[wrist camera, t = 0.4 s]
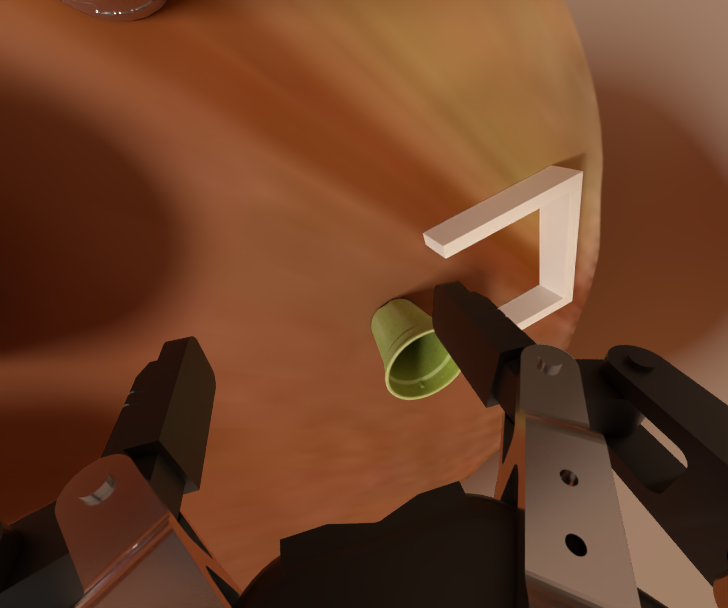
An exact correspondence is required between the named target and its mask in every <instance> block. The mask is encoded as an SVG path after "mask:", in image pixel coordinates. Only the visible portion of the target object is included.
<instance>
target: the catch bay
mask: <svg viewBox="0 0 728 608" xmlns="http://www.w3.org/2000/svg"><path fill="white" fill-rule="evenodd" d="M582 179H583V171H580V170H574V169H569V168H563V167H558V166H553V165H550V166H548V167H547V168H545V169H543V170H541V171H539V172H537V173H535V174H533V175H531V176H530V177H528V178H526V179H524V180H522V181H520V182H518V183H516V184H514V185H513V186H511V187H509V188H507V189H505V190H503V191H501V192H499V193H497V194H495V195H494V196H492V197H490V198H488V199H486V200H484V201H482V202H480V203H478V204H477V205H475V206H473V207H471V208H469V209H467V210H465V211H463V212H461V213H460V214H458V215H456V216H454V217H452V218H450V219H448V220H446V221H444V222H443V223H441V224H439V225H437V226H435V227H433V228H431V229H429V230H427V231H426V232H424V233H423V236H424V239H425V243H426V245H427V246H428V247H430V248H431V249H433V250H434V251H436V252H437V253H438V254H440V255H441V256H443V257H444V258H445V259H446V258H448V257H450V256H452V255H454V254H456V253H457V252H459V251H461V250H463V249H465V248H467V247H468V246H470V245H472V244H474V243H476V242H478V241H480V240H481V239H483V238H485V237H487V236H489V235H491V234H493V233H494V232H496V231H498V230H500V229H502V228H504V227H506V226H507V225H509V224H511V223H513V222H515V221H517V220H519V219H520V218H522V217H524V216H526V215H528V214H530V213H531V212H533V211H535V210H537V209H539V208H540V285H538V286H536V287H534V288H533V289H531V290H529V291H527V292H525V293H524V294H522V295H520V296H518V297H517V298H515V299H513V300H511V301H509V302H508V303H506V304H504V305H502V306H500V307H499V308H498V309H500V310H501V311H502V312H503V313H504V314H505V316H506V317H508V318H509V319H511V320H512V321H513V322H514V323H515V324H516V325H517V326H518V327H519V328H520V329H521V330H522V329H524V328H526V327H528V326H529V325H531V324H533V323H535V322H536V321H538V320H540V319H542V318H543V317H545V316H547V315H549V314H550V313H552V312H554V311H556V310H557V309H559V308H561V307H563V306H564V305H566V304H568V303H570V302H571V301H572V297H573V285H574V273H575V261H576V250H577V238H578V226H579V214H580V203H581V191H582Z"/></svg>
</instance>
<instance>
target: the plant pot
mask: <svg viewBox="0 0 728 608" xmlns="http://www.w3.org/2000/svg"><path fill="white" fill-rule="evenodd" d="M371 329H372V332H373V335H374V338H375V340H376V343H377V345H378V348H379V351H380V354H381V357H382V360H383V362H384V368H385V382H386V386H387V388H388V390H389V391H390V392H391V394H393V395H394V396H396V397H398V398H401V399H407V400H410V399H420V398H424V397H427V396H429V395H432V394H434V393H436V392H438V391H439V390H441V389H443V388H444V387H446V386H447V385H448V384H449V383H451V382H452V381H453V380H454V379H455V378H456V377H457V375H458V374H459V373H460V372H461V371H460V369H459V368H458V366H457V365H456V363H455V362H454V360H453V359H452V358H451V356H450V355H449V353H448V352H447V350H446V349H445V348H444V346H443V345H442V343H441V342H440V340H439V339H438V337H437V336H436V334H435V332H434V329H433V324H432V317H431V316H429V315H428V314H426V313H425V312H424V311H423V310H421V309H420V308H419V307H417V306H416V305H415V304H413V303H412V302H411V301H409V300H406V299H395V300H391V301H389V302H388V303H387V304H386V305H385V306H383V307H381V308H379V309H378V310H377V312H376V313H375V315H374V316H373V319H372V323H371Z"/></svg>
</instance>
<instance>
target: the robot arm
mask: <svg viewBox="0 0 728 608" xmlns="http://www.w3.org/2000/svg"><path fill="white" fill-rule="evenodd" d="M61 1H62V2H64V3H66V4H67V5H69V6H71V7H73V8H75V9H77V10H80V11H82V12H84V13H86V14H89V15H91V16H94V17H99V18H103V19H107V20H111V21H133V20H137V19H141V18H144V17H148V16H149V15H151V14H152V13H154V12H156V11H157V10H159V9H160V8H162V6H163V5H164V4H165V3H166V2H167V0H61ZM432 324H433V329H434V332H435V334H436V336H437V337H438V339H439V340H440V342H441V343H442V345H443V346H444V348H445V349H446V350H447V352H448V353H449V355H450V356H451V358H452V359H453V360H454V362H455V363H456V365H457V366H458V368H459V369H460V371H461V372H462V373H463V375H464V376H465V378H466V379H467V381H468V382H469V383H470V385H471V386H472V388H473V389H474V391H475V392H476V394H477V395H478V396H479V398H480V399H481V401H482V402H483V404H484V405H485V407H486V408H487V407H491V406H494V405H498V404H500V406H501V407H502V408H503V410H504V412H503V415H502V428H501V442H500V458H499V470H498V477H497V483H496V487H495V494H494V498H492V497H488V496H484V495H479V494H470V493H469V494H468V493H465V492H464V490H463V488H462V486H461V484H460V482H459V481H457V482H454V483H451V484H448V485H445V486H442V487H439V488H436V489H433V490H430V491H427V492H424V493H421V494H418V495H417V496H415V497H414V498H412V499H411V500H409V501H408V502H407V503H405V504H404V505H402V506H401V507H400V508H398V509H397V510H395V511H394V512H392V513H391V514H390V515H388V516H387V517H385V518H384V519H382V520H381V521H379V522H376V523H356V524H326V525H323V526H320V527H317V528H314V529H311V530H308V531H305V532H302V533H299V534H296V535H293V536H290V537H287V538H284V539H281V540H280V554H281V555H280V556H278V557H277V558H276V559H274V560H273V561H272V562H270V563H269V564H268V565H267V566H266V567H265V568H263V569H262V570H261V571H260V573H259V574H258V575H257V576H256V577H255V578H254V579H253V580H252V581H251V582H250V584H249V585H248V586H247V587H246V589H245V590H244V591H243V592H242V591H241V589H240V588H239V587H238V585H237V584H236V583H235V582H234V580H233V579H232V578H231V577H230V576H229V574H228V573H227V572H226V571H225V570H224V568H223V567H222V566H221V565H220V563H219V562H218V561H217V559H216V558H215V557H214V555H213V554H212V552H211V551H210V550H209V548H208V547H207V545H206V544H205V543H204V541H203V540H202V538H201V537H200V536H199V534H198V533H197V531H196V530H195V529H194V527H193V526H192V524H191V523H190V522H189V520H188V519H187V517H186V516H185V515H184V513H183V512H182V511H181V510H180V507H181V502H182V497H183V494H187V493H190V492H193V491H197V490H199V489H200V483H201V476H202V470H203V464H204V458H205V451H206V445H207V439H208V433H209V426H210V420H211V414H212V408H213V402H214V395H215V389H216V382H215V376H214V372H213V370H212V368H211V366H210V364H209V362H208V360H207V358H206V356H205V354H204V352H203V350H202V349H201V347H200V345H199V343H198V341H197V339H196V338H195V337H193V336H191V337H186V338H182V339H177V340H172V341H168V342H165V343H164V345H163V347H162V350H161V353H160V355H159V358H158V360H157V361H153V362H150V363H149V364H148V365H147V366H146V367H145V368H144V369H143V370H142V371H141V372H140V374H139V375H138V376H137V377H136V379H135V381H134V384H133V386H132V388H131V391H130V395H128V397H127V400H126V402H125V404H124V405H125V408H123V409H122V411H121V413H120V416H119V418H118V420H117V422H116V425H115V427H114V429H113V431H112V434H111V436H110V438H109V440H108V443H107V445H106V447H105V450H104V452H103V454H102V456H101V458H100V459H98V460H96V461H94V462H93V463H91V464H89V465H88V466H86V467H85V468H84V469H82V470H81V471H80V472H79V473H77V474H76V475H75V476H74V477H73V478H72V479H71V480H70V481H69V482H68V484H67V485H66V486H65V488H64V489H63V490H62V492H61V494H60V495H59V497H58V500H57V501H55V502H53V503H51V504H49V505H47V506H46V507H44V508H42V509H40V510H38V511H36V512H34V513H32V514H30V515H28V516H27V517H25V518H23V519H21V520H19V521H17V522H15V523H13V524H11V525H7V524H5V523H4V522H2V521H0V608H668V607H667V606H665V605H663V604H662V603H660V602H659V601H657V600H656V599H654V598H653V597H651V596H650V595H648V594H647V593H645V592H644V591H642V590H641V589H639V588H637V586H636V582H635V577H634V572H633V567H632V563H631V558H630V553H629V548H628V544H627V539H626V534H625V529H624V525H623V521H622V516H621V511H620V506H619V501H618V496H617V492H616V487H615V482H614V477H613V472H612V469H613V470H614V471H615V472H616V474H617V475H618V476H619V477H620V478H621V479H622V481H623V482H624V483H625V484H626V485H627V487H628V488H629V489H630V490H631V491H632V492H633V494H634V495H635V496H636V497H637V498H638V500H639V501H640V502H641V503H642V504H643V505H644V507H645V508H646V509H647V510H648V511H649V513H650V514H651V515H652V516H653V517H654V518H655V520H656V521H657V522H658V523H659V524H660V525H661V527H662V528H663V529H664V530H665V532H666V533H667V534H668V535H669V536H670V537H671V538H672V540H673V541H674V542H675V543H676V544H677V546H678V547H679V548H680V549H681V550H682V552H683V553H684V554H685V555H686V556H687V557H688V559H689V560H690V561H691V562H692V563H693V564H694V566H695V567H696V568H697V569H698V570H699V571H700V573H701V574H702V575H703V576H704V578H705V579H706V580H707V581H708V582H709V583H710V585H711V586H712V587H713V592H714V597H715V601H716V603H717V606H718V608H728V405H726V404H725V403H724V402H722V401H721V400H719V399H718V398H717V397H715V396H714V395H713V394H711V393H710V392H709V391H707V390H705V389H704V388H703V387H701V386H700V385H699V384H697V383H696V382H695V381H693V380H692V379H691V378H689V377H688V376H686V375H685V374H684V373H682V372H681V371H679V370H678V369H677V368H675V367H674V366H673V365H671V364H670V363H669V362H667V361H666V360H664V359H663V358H662V357H660V356H659V355H657V354H655V353H653V352H651V351H649V350H646V349H643V348H640V347H636V346H630V345H618V346H614V347H612V348H611V349H610V350H609V351H608V353H607V355H606V356H605V358H604V360H598V359H597V360H596V359H594V360H593V359H574V358H573V357H572V356H571V355H569V354H568V353H567V352H565V351H563V350H561V349H559V348H556V347H554V346H550V345H544V344H536V343H535V342H534V341H533V340H532V339H531V338H530V337H529V336H528V335H527V334H525V333H524V332H523V331H522V330H521V329H520V328H519V327H518V326H517V325H516V324H515V323H514V322H513V321H512V320H511V319H509V318H508V317H506V316H505V314H504V313H503V312H502V311H501V310H500V309H498V307H497V306H496V305H495V304H494V303H492V302H491V301H490V300H489V299H488V298H486V297H484V296H482V295H480V294H478V293H476V292H469V291H468V290H467V289H466V288H465V287H464V286H463V285H462V284H461V283H460V282H459V281H454V282H449V283H444V284H440V285H436V287H435V289H434V300H433V315H432ZM645 417H646V418H647V419H648V420H650V421H651V422H652V423H653V424H654V425H655V426H656V427H657V428H658V429H659V430H660V431H661V432H663V433H664V434H665V435H666V436H667V437H668V438H669V439H670V440H671V441H672V442H673V443H674V444H676V445H677V446H678V447H679V448H680V450H681V451H682V452H683V454H684V455H685V457H686V460H687V464H688V467H687V468H686V467H685V466H684V465H683V464H682V463H680V462H679V460H678V459H676V458H675V457H674V456H673V455H672V454H671V453H670V452H669V451H668V450H667V449H666V448H665V447H664V446H663V445H662V444H661V443H660V442H659V441H658V440H657V439H656V438H655V437H654V436H653V435H651V434H650V433H649V432H648V431H647V430H646V429H645V428H644V427H643V426H642V425H641V422H642V421H643V420H644V418H645Z"/></svg>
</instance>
